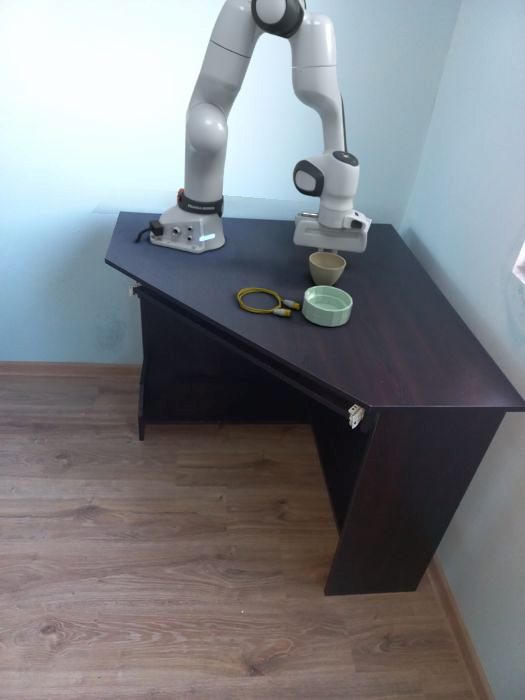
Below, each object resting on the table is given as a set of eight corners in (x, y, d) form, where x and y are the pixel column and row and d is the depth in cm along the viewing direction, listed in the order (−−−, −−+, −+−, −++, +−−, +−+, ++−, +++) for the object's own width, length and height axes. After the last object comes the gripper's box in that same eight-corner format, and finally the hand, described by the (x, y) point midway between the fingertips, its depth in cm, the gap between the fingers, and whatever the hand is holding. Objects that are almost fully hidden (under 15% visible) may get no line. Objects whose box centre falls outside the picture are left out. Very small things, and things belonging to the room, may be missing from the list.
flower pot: (340, 276, 154) (345, 254, 149) (341, 294, 145) (346, 271, 141) (305, 272, 154) (309, 249, 149) (305, 289, 145) (309, 266, 141)
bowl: (301, 324, 131) (304, 307, 128) (301, 299, 141) (304, 283, 138) (349, 330, 131) (354, 313, 128) (346, 305, 141) (350, 288, 138)
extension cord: (268, 327, 129) (269, 320, 128) (227, 298, 138) (228, 291, 136) (303, 312, 136) (304, 305, 135) (262, 285, 145) (263, 279, 144)
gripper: (295, 215, 141) (288, 262, 149) (372, 224, 142) (361, 271, 150) (296, 206, 146) (289, 252, 155) (370, 215, 147) (359, 260, 155)
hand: (325, 261), depth 152 cm, fingers closed
